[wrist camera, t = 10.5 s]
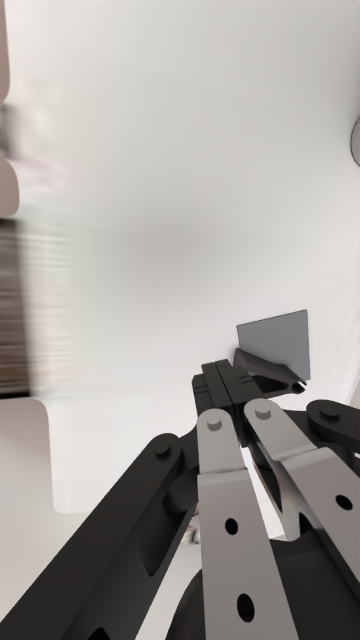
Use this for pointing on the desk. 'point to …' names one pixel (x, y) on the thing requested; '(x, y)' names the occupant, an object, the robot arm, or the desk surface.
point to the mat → (279, 341)
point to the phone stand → (269, 375)
